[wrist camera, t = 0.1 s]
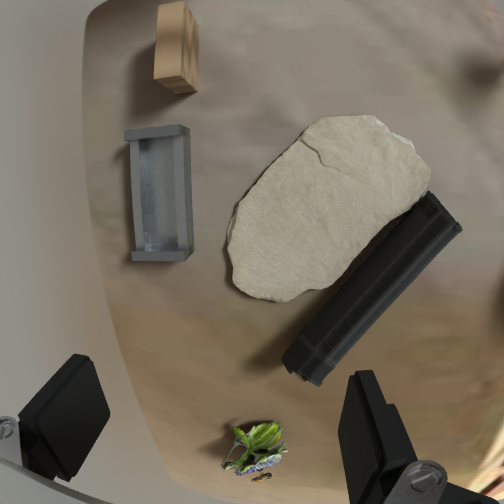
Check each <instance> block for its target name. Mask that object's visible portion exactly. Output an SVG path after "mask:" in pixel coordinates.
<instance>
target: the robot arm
mask: <svg viewBox="0 0 504 504" xmlns="http://www.w3.org/2000/svg"><path fill="white" fill-rule="evenodd" d="M18 417H19V419H20V421H19V422H17V421H16V419H14V418H13V417H9V416H2V417H0V504H112V503H109V502H106V501H103V500H100V499H97V498H94V497H91V496H88V495H85V494H83V493H80V492H78V491H75V490H72V489H70V488H68V487H65V486H63V485H61V484H58V483H56V482H55V480H54V478H55V476H57V477H58V478H60V479H62V480H65V481H67V482H69V481H70V480H71V478H72V477H74V476H76V474H77V473H78V471H79V469H80V467H81V466H82V464H83V462H84V461H85V459H86V457H87V455H88V454H89V452H90V450H91V448H92V447H93V445H94V443H95V442H96V440H97V438H98V437H99V435H100V433H101V432H102V430H103V428H104V426H105V425H106V423H107V421H108V420H109V417H110V410H109V407H108V404H107V402H106V399H105V396H104V393H103V390H102V388H101V385H100V382H99V379H98V376H97V373H96V370H95V367H94V364H93V362H92V361H91V360H90V358H89V357H88V356H85V355H80V354H73V355H72V356H71V357H70V358H69V359H68V361H66V363H65V364H64V365H63V366H62V367H61V368H60V369H59V370H58V371H57V372H56V373H55V374H54V375H53V376H52V377H51V379H50V380H49V381H48V382H47V383H46V384H45V385H44V386H43V387H42V389H40V391H39V392H38V393H37V394H36V395H35V396H34V397H33V398H32V399H31V401H30V402H29V403H28V404H27V405H26V406H25V407H24V408H23V410H22V411H21V412H20V413H19V414H18ZM338 437H339V443H340V448H341V454H342V459H343V465H344V470H345V476H346V482H347V488H348V494H349V500H350V504H499V502H497V500H495V499H493V498H491V497H488V496H485V495H482V494H479V493H476V492H473V491H470V490H468V489H465V488H462V487H459V486H457V485H454V484H452V483H449V482H447V480H448V477H447V472H446V471H445V469H444V468H443V467H442V466H441V465H440V464H439V463H437V462H435V461H431V460H419V461H418V459H417V456H416V454H415V451H414V449H413V446H412V444H411V441H410V439H409V436H408V434H407V432H406V429H405V427H404V424H403V422H402V420H401V417H400V415H399V412H398V410H397V408H396V406H395V405H394V404H386V401H385V399H384V396H383V394H382V391H381V389H380V386H379V384H378V382H377V379H376V377H375V375H374V372H373V371H372V370H362V371H356V372H355V374H354V375H351V376H350V377H349V381H348V386H347V391H346V396H345V400H344V405H343V410H342V414H341V418H340V423H339V427H338Z"/></svg>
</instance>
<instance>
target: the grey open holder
mask: <svg viewBox="0 0 504 504" xmlns="http://www.w3.org/2000/svg"><path fill="white" fill-rule="evenodd" d="M124 141H130V165H131V188H132V204H133V218H134V230H135V240H136V249H134V250H133V251H131V254H132V261H186V260H187V259H188V257H189V256H190V255H191V254H192V253H193V252H194V251H195V250H194V234H193V214H192V190H191V156H190V129H189V128H187V127H184V126H182V125H180V124H178V125H168V126H159V127H150V128H143V129H135V130H128V131H124Z"/></svg>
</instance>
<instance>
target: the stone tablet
mask: <svg viewBox="0 0 504 504" xmlns="http://www.w3.org/2000/svg"><path fill="white" fill-rule="evenodd" d="M430 176H431V169H430V168H429V167H428V166H427V165H426V164H425V162H424V161H423V160H422V159H421V158H420V157H419V156H418V155H417V153H416V152H415V150H414V147H413V144H412V142H411V141H410V140H408V139H406V138H403V137H402V136H401V135H399V134H398V135H396V134H395V133H392V132H390V131H389V129H388V128H387V127H386V126H385V125H384V124H383V123H382V122H380V121H379V120H378V119H376V117H375V116H344V117H324V118H321V119H319V120H317V121H316V122H315V123H314V124H312V125H311V126H309V127H308V128H307V129H306V130H305V131H304V132H303V133H302V135H301V136H300V137H299V138H298V140H297V141H296V142H295V143H294V144H293V145H291V146H290V147H289V148H288V149H287V151H285V152H284V153H283V155H282V156H280V157H279V158H278V159H277V160H276V161H275V162H274V163H272V164H271V166H270V167H269V168H268V169H267V170H266V171H265V172H264V174H263V175H262V177H261V178H260V179H259V180H258V182H257V184H255V185H254V186H253V187H252V188H251V189H250V191H249V193H248V194H247V195H246V197H245V198H244V199H242V200H241V201H240V202H239V204H238V206H237V207H236V208H235V209H236V212H235V214H234V216H233V217H232V218H231V219H230V225H229V227H228V231H227V237H228V240H227V242H228V246H227V251H228V254H229V257H230V260H231V263H232V266H233V276H232V280H233V283H234V284H235V285H236V286H237V287H238V288H239V289H240V290H241V291H243V292H245V293H247V294H248V295H250V296H253V297H256V298H258V299H261V298H262V299H266V300H272V301H275V302H281V303H284V302H287V301H290V300H291V299H293V298H295V297H296V296H298V295H299V294H300V293H302V292H304V291H305V290H308V289H323V288H328V287H329V286H330V285H332V284H333V283H334V282H335V281H336V280H337V279H338V278H339V277H340V276H341V275H342V274H343V272H344V271H345V270H346V269H347V268H348V266H349V265H350V263H351V262H352V260H353V259H354V258H355V257H356V256H357V255H358V254H359V253H360V252H361V251H362V250H363V249H364V248H365V247H366V246H367V244H368V243H369V241H370V240H371V239H372V238H373V237H374V236H375V235H376V234H377V233H378V232H379V231H380V230H381V228H383V227H384V226H385V225H386V224H388V222H389V221H390V220H392V219H394V218H396V217H398V216H400V215H401V214H402V213H404V212H406V211H408V210H410V209H411V206H413V205H414V204H415V203H416V202H418V201H419V199H420V196H421V194H422V193H423V191H424V190H425V189H426V187H427V184H428V182H429V179H430Z"/></svg>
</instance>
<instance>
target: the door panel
mask: <svg viewBox="0 0 504 504" xmlns="http://www.w3.org/2000/svg"><path fill="white" fill-rule="evenodd" d="M198 46H199V26H198V24H197V22H196V20H195V19H194V17H193V15H192V14H191V12H190V10H189V8H188V7H187V5H186V3H185V2H184V1H179V2H173V3H168V4H163V5H159V8H158V18H157V30H156V43H155V60H154V80H155V81H157V82H158V83H160V84H161V85H163V86H164V87H166V88H167V89H169V90H170V91H172V92H173V93H175V94H180V93H190V92H198Z"/></svg>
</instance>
